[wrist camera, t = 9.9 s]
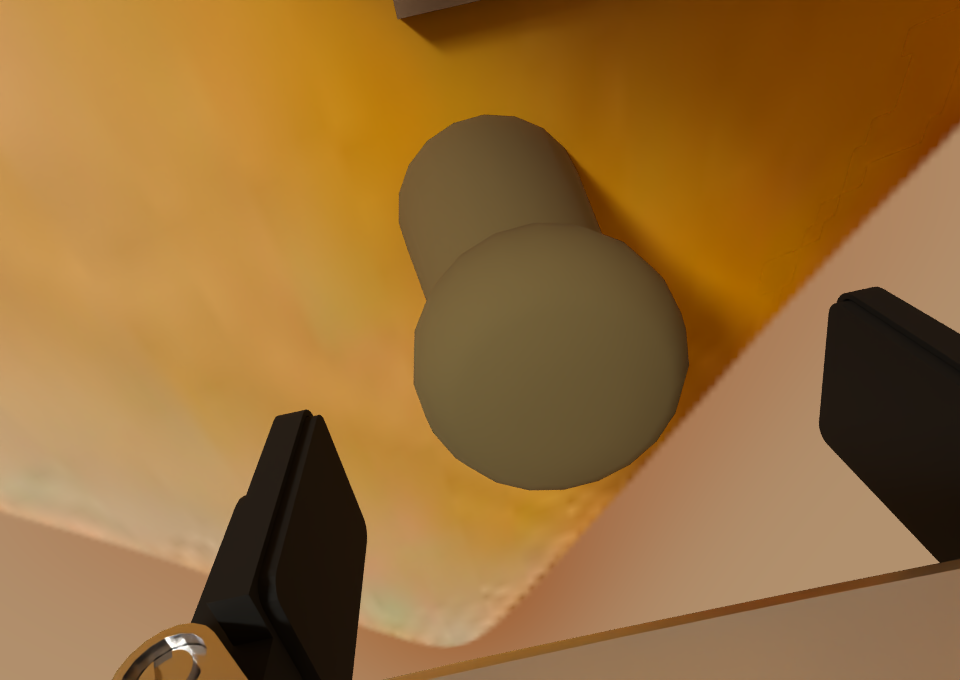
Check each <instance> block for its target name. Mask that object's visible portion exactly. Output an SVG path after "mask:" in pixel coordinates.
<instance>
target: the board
mask: <svg viewBox="0 0 960 680" xmlns="http://www.w3.org/2000/svg"><path fill="white" fill-rule="evenodd" d="M393 1H394V6H395V10H396V14H397V18H398V19H401V18H405V17H409V16H414V15H418V14H422V13H427V12H431V11H435V10H440V9H444V8H449V7H453V6H457V5H462V4H466V3H470V2H475V1H479V0H393Z"/></svg>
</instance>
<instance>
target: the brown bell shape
mask: <svg viewBox="0 0 960 680" xmlns="http://www.w3.org/2000/svg"><path fill="white" fill-rule="evenodd" d="M399 224H400V228H401V231H402V234H403V237H404V240H405V243H406V246H407V249H408V252H409V254H410V257H411V260H412V262H413V265H414V268H415V271H416V273H417V276H418V279H419V281H420V284H421V287H422V290H423V292H424V295H425V298H426V300H427V301H426V304H425V306H424V309H423V311H422V314H421V316H420V319H419V321H418V324H417V326H416V329H415V340H414V386H415V389H416V392H417V394H418V397H419V400H420V403H421V405H422V408H423V411H424V413H425V416H426V418H427V421H428V423H429V425H430V427H431V429H432V431H433V433H434V434H435V435H436V436H437V437H438V439H439V440H440V441H441V442H442V443H443V444H444V445H445V447H446V448H447V449H448V450H449V451H450V452H451V453H452V454H453V456H454V457H455V458H456V459H458V460H459V461H461V462H462V463H464V464H466V465H467V466H469V467H470V468H472V469H474V470H476V471H477V472H479V473H481V474H483V475H484V476H486V477H488V478H489V479H491V480H493V481H495V482H497V483H501V484H505V485H509V486H513V487H518V488H522V489H526V490H564V489H568V488H572V487H576V486H580V485H584V484H588V483H592V482H596V481H599V480H601V479H603V478H605V477H607V476H609V475H610V474H612V473H614V472H616V471H618V470H620V469H622V468H624V467H626V466H628V465H630V464H631V463H632V462H633V461H634V460H636V459H637V458H638V457H639V456H640V455H641V454H642V453H644V452H645V451H646V450H647V449H648V448H649V447H650V446H652V445H653V444H654V443H655V442H656V441H657V440H658V438H659V437H660V435H661V434H662V432H663V431H664V429H665V428H666V426H667V425H668V423H669V421H670V420H671V418H672V417H673V415H674V414H675V412H676V409H677V405H678V402H679V398H680V395H681V391H682V388H683V384H684V381H685V377H686V374H687V370H688V366H689V361H688V349H687V337H686V328H685V325H684V322H683V318H682V315H681V312H680V310H679V308H678V306H677V304H676V302H675V300H674V298H673V296H672V294H671V292H670V290H669V288H668V286H667V284H666V282H665V280H664V279H663V278H662V277H661V276H660V275H659V274H658V273H657V272H656V271H655V270H654V269H653V268H652V267H651V266H650V265H649V264H648V263H647V262H646V261H644V260H643V259H642V258H641V257H640V256H639V255H638V254H636V253H635V252H634V251H633V250H632V249H631V248H630V247H628V246H627V245H626V244H625V243H624V242H622V241H619V240H617V239H614V238H611V237H609V236H606V235H604V234H602V233H601V230H600V228H599V225H598V223H597V220H596V218H595V215H594V213H593V210H592V207H591V205H590V202H589V200H588V197H587V195H586V192H585V190H584V187H583V185H582V182H581V180H580V177H579V174H578V172H577V170H576V169H575V167H574V165H573V163H572V161H571V159H570V157H569V156H568V154H567V152H566V150H565V148H564V147H563V146H562V145H561V144H559V143H558V142H557V141H556V140H555V139H554V138H553V137H552V136H551V135H550V134H549V133H547V132H546V131H545V130H544V129H543V128H541V127H539V126H536V125H534V124H531V123H529V122H527V121H524V120H522V119H519V118H517V117H514V116H497V115H481V116H477V117H474V118H470V119H467V120H463V121H460V122H456V123H453V124H452V125H450V126H449V127H447V128H446V129H444V130H443V131H441V132H440V133H438V134H437V135H435V136H434V137H432V138H431V139H430V140H428V141H427V142H426V143H425V145H424V146H423V147H422V149H421V150H420V151H419V153H418V154H417V155H416V157H415V158H414V159H413V161H412V162H411V163H410V164H409V166H408V169H407V172H406V175H405V178H404V181H403V184H402V187H401V190H400V193H399Z"/></svg>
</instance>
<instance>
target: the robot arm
mask: <svg viewBox="0 0 960 680" xmlns="http://www.w3.org/2000/svg"><path fill="white" fill-rule="evenodd" d="M819 428H820V432H821V434H822V437H823V439H824V440H825V442H826V443H827V444H828V445H829V446H830V447H831V449H832V450H833V451H834V452H835V453H836V454H837V455H838V456H839V457H840V458H841V459H842V460H843V461H844V462H845V463H846V464H847V465H848V466H849V467H850V469H851V470H852V471H853V472H854V473H855V474H856V475H857V476H858V477H859V478H860V479H861V480H862V481H863V482H864V483H865V484H866V485H867V486H868V487H869V489H870V490H871V491H872V492H873V493H874V494H875V495H876V496H877V497H878V498H879V499H880V500H881V501H882V502H883V503H884V504H885V505H886V506H887V508H889V510H890V511H891V512H892V513H893V514H894V515H895V516H896V517H897V518H898V519H899V520H900V521H901V522H902V523H903V524H904V525H905V527H906V528H907V529H908V530H909V531H910V532H911V533H912V534H913V535H914V536H915V537H916V538H917V539H918V540H919V541H920V542H921V543H922V544H923V546H925V548H926V549H927V550H928V551H929V552H930V553H931V554H932V555H933V556H934V557H935V558H936V559H937V560H938V561H939V562H940V563H938V564H933V565H928V566H923V567H918V568H913V569H908V570H903V571H898V572H893V573H888V574H883V575H879V576H873V577H868V578H863V579H858V580H853V581H848V582H843V583H838V584H833V585H828V586H823V587H818V588H813V589H808V590H803V591H798V592H793V593H788V594H784V595H779V596H774V597H769V598H764V599H760V600H754V601H749V602H745V603H740V604H735V605H730V606H725V607H720V608H715V609H711V610H706V611H701V612H696V613H692V614H686V615H682V616H677V617H672V618H667V619H662V620H657V621H653V622H648V623H643V624H638V625H633V626H629V627H624V628H619V629H614V630H609V631H605V632H600V633H595V634H591V635H586V636H581V637H576V638H572V639H567V640H562V641H557V642H553V643H548V644H543V645H539V646H534V647H529V648H524V649H520V650H516V651H510V652H506V653H501V654H496V655H491V656H487V657H482V658H477V659H473V660H468V661H464V662H458V663H454V664H450V665H445V666H441V667H437V668H432V669H428V670H424V671H419V672H415V673H410V674H406V675H402V676H397V677H393V678H389V679H384V680H960V334H959V333H957V332H955V331H954V330H952V329H951V328H949V327H947V326H945V325H944V324H942V323H940V322H938V321H937V320H935V319H934V318H932V317H930V316H929V315H927V314H925V313H923V312H922V311H920V310H918V309H916V308H915V307H913V306H912V305H910V304H908V303H906V302H905V301H903V300H901V299H900V298H898V297H896V296H895V295H893V294H891V293H889V292H888V291H886V290H884V289H882V288H880V287H872V288H867V289H862V290H858V291H854V292H849V293H844V294H842V295H841V296H840V297H839V298H838V300H837V303H835V304H833V305H832V306H831V307H830V310H829V317H828V327H827V338H826V350H825V361H824V373H823V383H822V395H821V406H820V417H819ZM366 545H367V530H366V525H365V521H364V518H363V515H362V513H361V510H360V508H359V505H358V503H357V500H356V498H355V495H354V493H353V490H352V488H351V486H350V483H349V481H348V478H347V476H346V473H345V471H344V468H343V466H342V463H341V461H340V458H339V456H338V453H337V451H336V448H335V446H334V443H333V441H332V438H331V436H330V433H329V431H328V428H327V426H326V423H325V421H324V419H323V417H322V416H321V415H317V416H313V415H312V413H311V412H310V411H309V410H302V411H298V412H293V413H289V414H284V415H279V416H277V417H276V418H275V419H274V421H273V424H272V427H271V429H270V432H269V435H268V438H267V440H266V443H265V446H264V448H263V451H262V454H261V456H260V459H259V462H258V465H257V467H256V470H255V473H254V475H253V478H252V481H251V484H250V486H249V489H248V492H247V494H246V496H243V497H242V498H240V499H239V501H238V503H237V505H236V507H235V509H234V512H233V514H232V517H231V520H230V522H229V525H228V527H227V530H226V533H225V535H224V538H223V541H222V543H221V546H220V548H219V551H218V554H217V556H216V559H215V561H214V564H213V567H212V569H211V572H210V574H209V577H208V580H207V582H206V585H205V588H204V590H203V593H202V595H201V598H200V601H199V604H198V606H197V608H196V611H195V614H194V616H193V619H192V621H191V623H189V624H182V625H177V626H174V627H172V628H169V629H167V630H164V631H162V632H160V633H159V634H157V635H155V636H154V637H152V638H150V639H149V640H147V641H146V642H144V643H143V644H142V645H141V646H140V647H139V648H137V649H136V650H135V651H134V652H133V653H132V654H131V655H130V656H129V657H128V658H127V659H126V660H125V662H124V663H123V664H122V665H121V667H120V668H119V669H118V670H117V671H116V673H115V675H114V677H113V679H112V680H352V676H353V666H354V656H355V648H356V638H357V629H358V620H359V610H360V601H361V592H362V582H363V573H364V563H365V554H366Z"/></svg>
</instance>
